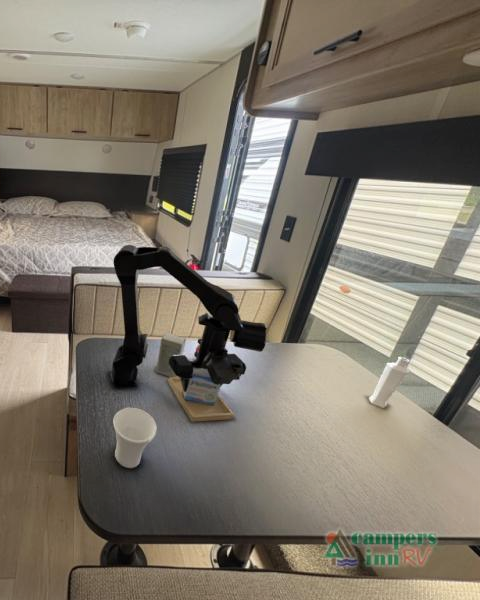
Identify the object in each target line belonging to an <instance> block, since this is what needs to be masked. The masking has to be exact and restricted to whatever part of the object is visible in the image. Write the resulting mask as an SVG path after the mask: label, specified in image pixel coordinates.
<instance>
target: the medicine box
mask: <svg viewBox="0 0 480 600" xmlns="http://www.w3.org/2000/svg"><path fill="white" fill-rule="evenodd" d="M192 377H193V378H191V379H190V380H189V384H188V388H187V390H186V392H184V391H183V396H184V400H185V401H191V402H196V403H202V404H208V405H214V404H215V401H216V398H217V395H218V394H219V391H220V389H221V387H222V386H221V384H219V385H216V384H214V383H213V382H212V381H211V377H210V375H209V373H208V371H207V369H193V374H192ZM220 386H221V387H220Z"/></svg>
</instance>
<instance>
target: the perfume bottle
mask: <svg viewBox="0 0 480 600" xmlns="http://www.w3.org/2000/svg"><path fill="white" fill-rule="evenodd" d="M409 362H410V359H408V358H407V357H404V356H398V358H397V360H396V362H387V363H386V364H385V367H384V369H383V371H382V373H381V376H380V379H378V382H377V385H376V387H375V389H374V392H373V393H372V395H371V396H369V397H368V400H369V402H370V403H371V404H372V405H374V406H378V407H380V408H382V409H384V408H386V407H387V406H388V401H389V400H390V399H391V397H392V396H393V395H394V393H395V392H397V389H398V388H399V387H400V385H402V383H403V382H404V380H405V379H406V377H408V376H409V374H410V372H411V371H412V370H411V369H410V368H408V367H407V365H408V363H409Z"/></svg>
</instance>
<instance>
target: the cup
mask: <svg viewBox="0 0 480 600" xmlns="http://www.w3.org/2000/svg"><path fill="white" fill-rule="evenodd" d="M112 424H113V428H114V432H115V438H116V447H115V450H114V457H115V459H116V462H117V463H118V464H119V465H120V466H122V467H124V468H127V469H133V468H136V467H137V466H139V464H140V463H141V458H142V455H143V453H144V450H145V448H146V447H147V446H148V445H149V444H150V442H151V441H152V440H153V439H154V438H155V436H156V435H157V430H158V429H157V423H156V421H155V419H154V418H153V416H152V415H150V414H149V413H148V412H146V411H144V410H143V409H140V408H136V407H123V408H122V409H120V410H118V411H117V412H116V413H115V414H114V416H113V419H112Z"/></svg>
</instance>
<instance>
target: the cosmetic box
mask: <svg viewBox="0 0 480 600" xmlns="http://www.w3.org/2000/svg"><path fill="white" fill-rule="evenodd" d="M186 340H187V339H186V338H185V337H183V336H179V335H176V334H172V333H169V332H165V333H164V335H162V337H161V338H160V345H159V352H158V358H157V363H156V365H157V366H156V369H155V372H156V373H158V374H161V375H163V376H166V377H168V378H169V377H178V376H176V375H175V373H174V371H173V370H172V368H171V367H170V365H169V364H168V363H169V358H170V357H171V356H174V355H184V350H185V344H186V342H187V341H186Z"/></svg>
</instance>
